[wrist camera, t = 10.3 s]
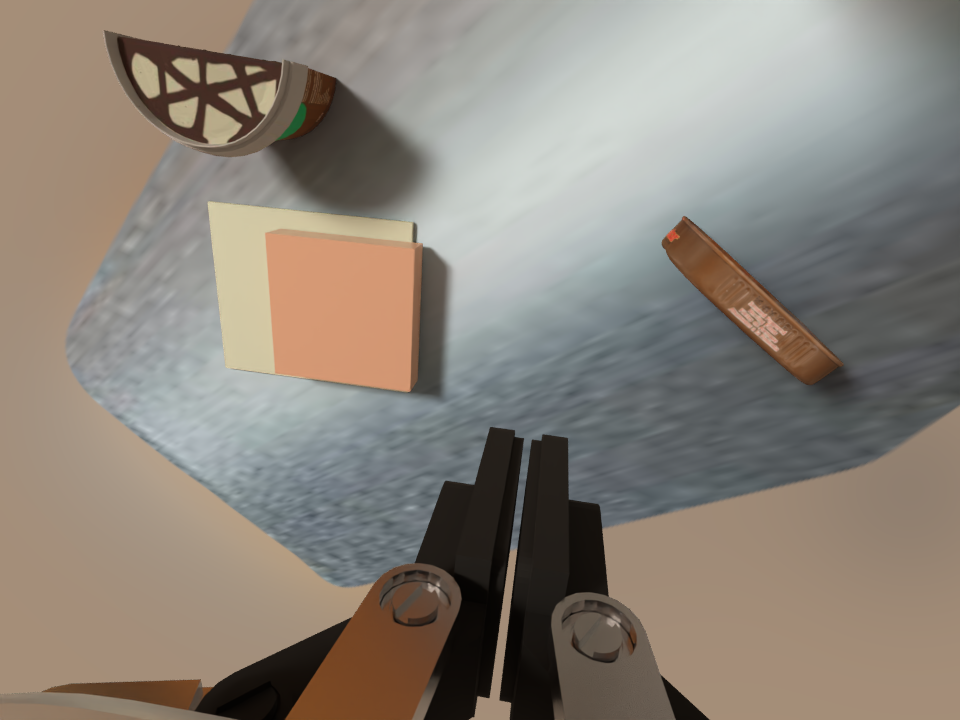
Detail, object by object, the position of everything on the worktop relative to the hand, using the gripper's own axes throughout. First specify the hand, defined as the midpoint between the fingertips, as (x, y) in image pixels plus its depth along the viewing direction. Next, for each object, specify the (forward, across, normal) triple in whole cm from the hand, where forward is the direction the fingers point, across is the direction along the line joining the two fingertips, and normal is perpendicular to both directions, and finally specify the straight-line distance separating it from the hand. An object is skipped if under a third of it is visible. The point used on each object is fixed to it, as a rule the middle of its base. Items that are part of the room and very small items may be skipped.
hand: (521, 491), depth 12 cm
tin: (+33, -14, +2) cm, 36 cm away
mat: (+33, +20, +7) cm, 39 cm away
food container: (+33, +22, -8) cm, 41 cm away
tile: (+31, +10, +7) cm, 34 cm away
